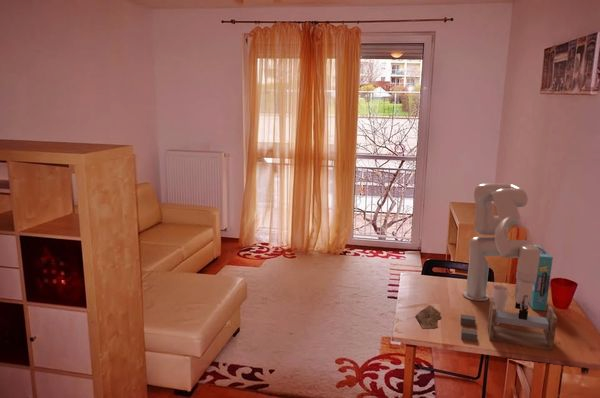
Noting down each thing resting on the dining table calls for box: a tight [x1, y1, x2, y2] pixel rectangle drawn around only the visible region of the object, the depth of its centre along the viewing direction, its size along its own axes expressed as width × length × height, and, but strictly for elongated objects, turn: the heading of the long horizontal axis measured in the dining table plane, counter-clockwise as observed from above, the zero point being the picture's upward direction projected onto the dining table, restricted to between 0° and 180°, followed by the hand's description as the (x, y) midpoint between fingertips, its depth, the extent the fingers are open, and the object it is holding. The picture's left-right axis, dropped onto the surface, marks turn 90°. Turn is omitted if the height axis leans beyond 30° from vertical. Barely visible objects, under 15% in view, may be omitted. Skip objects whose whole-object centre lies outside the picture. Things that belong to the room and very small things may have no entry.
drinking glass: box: [490, 284, 509, 312], centre depth 210 cm, size 7×7×15 cm
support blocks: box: [460, 313, 478, 342], centre depth 199 cm, size 18×6×3 cm, turn 162°
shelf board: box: [495, 311, 549, 330], centre depth 192 cm, size 20×6×2 cm, turn 72°
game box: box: [529, 243, 553, 312], centre depth 227 cm, size 20×6×27 cm, turn 170°
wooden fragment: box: [415, 304, 442, 330], centre depth 211 cm, size 26×11×1 cm, turn 156°
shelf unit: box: [486, 297, 558, 351], centre depth 192 cm, size 12×24×14 cm, turn 72°
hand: (520, 313), depth 192 cm, fingers open, 9 cm apart
